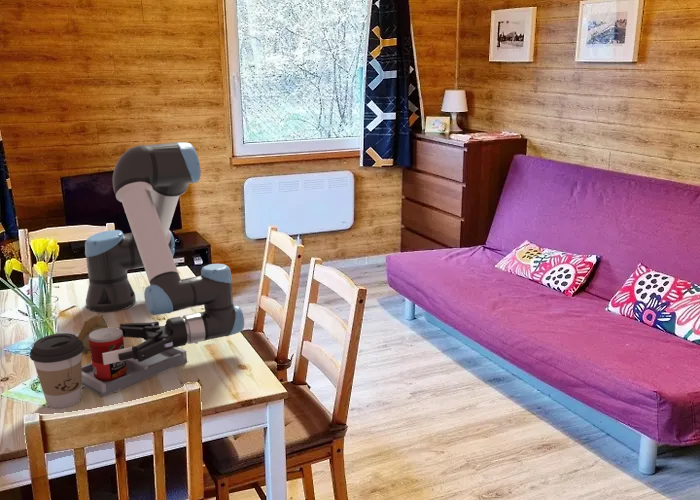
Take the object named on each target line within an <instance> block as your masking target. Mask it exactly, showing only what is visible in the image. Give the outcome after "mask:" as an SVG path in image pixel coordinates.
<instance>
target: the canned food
mask: <svg viewBox="0 0 700 500" xmlns="http://www.w3.org/2000/svg"><path fill="white" fill-rule="evenodd" d="M118 328H119V327H118ZM118 328H117V327H108V328H102V329H98V330H95V331H93V332H91V333H90V334H89V344H90V358H91V363H92V366H93V374H94V376H95V378H96V379H98V380H100V381H113V380H115V379H118V378H120V377H123V376H124V375H125V374H126V371H127V366H126V360H125V361H120V362H116V363H111V364H107V365H104V363H103V355H102V353H106V352H110V351H115V350H120V349H124V348H126V347H125V341H124V340H125V339H124V338H125V337H124V338H123V333H122V330H121V329H118Z"/></svg>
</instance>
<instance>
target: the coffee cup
mask: <svg viewBox="0 0 700 500" xmlns="http://www.w3.org/2000/svg"><path fill="white" fill-rule="evenodd" d="M77 336H78V335H76V334H74V333H69V332H64V333H63V332H59V333H54V334H53V333H52V334H50V335H49V334H48V335H45V336H42V337H41V338H39V339H37V340H36V341H35V342H34V343H33V347H32V348H31V349H30V351H29V359H30V360H31V361H33V364H34V367H35V370H36V374H37V376H38V380H39V383H40V386H41V390H42V392H43V396H44V400H45V402H46V404H47V406H48V407H49V408H51V409H55V410H56V409H59V410H60V409H61V410H62V409H66V408H70V407H72V406H73V407H74V406H75V405H76V404H79V402H80V401H81V397H82V391H83V390H82V387H83V385H82V366H83V353H82V351H83V350H84V346H83V342H82V341H81V340H79V339H78V337H77Z"/></svg>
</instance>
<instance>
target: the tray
mask: <svg viewBox="0 0 700 500" xmlns="http://www.w3.org/2000/svg"><path fill="white" fill-rule="evenodd" d="M138 345H139V344H138ZM138 345H136V346H138ZM132 351H133V350H132ZM143 356H144V355H143ZM187 357H188V355H187V350H185V349H183V348H181V347H175V348H172V349H169V350H166V351H163V352H161V353H159V354H157V355H155V356H152V357H150V358H148V359H146V360H144V361H142V362H139V361H138V359H129V360H126V366H127V371H126V374H125V375H124V376H123V377H120V378H118V379H115V380H113V381H100V380H98V379H96V378H95V376H94V374H93V366H92V362H90V363H87V364H84V365H82V387H85V388H87V389H88V390H90V391H92V392H93V393H96V394H97V395H99V396H100V397H102V398H103V397H106V396H108V395H111V394H113V393H115V392H118V391H120V390H123V389H125V388H128V387H129V386H132V385H134V384H137V383H139V382H142V381H144V380H147V379H150V378H151V377H153V376H156V375H159V374H160V373H163V372H165V371H168V370H170V369H173V368H175V367H177V366H180V365H182V364H185V363H186V362H188V359H187Z"/></svg>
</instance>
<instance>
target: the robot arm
mask: <svg viewBox="0 0 700 500" xmlns="http://www.w3.org/2000/svg"><path fill="white" fill-rule="evenodd" d="M197 153H198V152H197V151H196V149H195V147H194V145H193V144H191V143H189V142H178V141H176V142H169V143H167V142H166V143H157V144H145V145H144V144H140V145H135V146H132V147H130V148H129V149H127V150H126V151H125V152H124V153H122V154H121V155H120V157H119V158H118V160H117V162H116V164H115V166H114V169H113V173H112V188H113V192H114V195H115V198H116V200H117V201H118V202H120V203H122V207H123V209H124V213H125V215H126V218H127V221H128V224H129V227H130V230H131V232H129V233H123V231H122V230H120V229H113V230H109V229H108V230H105V231H100V232H97V233H94V234H92V235H91V236H90V235H89V237H87V239H85V241H84V249H85V250H84V255H85V259H86V267H87V275H88V282H89V283H88V288H87V291H86V292H87V293H86V298H85V307H86V309H87V310H88V311H92V312H98V313H109V312H116V311H121V310H125V309H128V308H130V307H131V306H133V305H134V304H135V303H136V302H137V300H136V298H137V297H136V294H135V291H134V289H133V287H132V285H131V282H130V281H129V279H128V271H129V270H135V269H140V268H144V271H145V274H146V277H147V280H148V283H149V285H148V286H146V287H145V289H144V294H143V295H144V296H143V297H144V300H145V306H146V308H147V310H148V312H149V313H150V314H151V315H153V316H159V315H165V314H172V313H175V312H178V311H182V310H186V309H190V308H195V307H200V306H203V307H204V311H200V312H195V313H190V314H189V313H188V314H184V315H183V316H175V317H171V318H167V319H166V320H165V325H160V321H150V322H132V323H131V322H130V323H129V322H127V323H123V322H122V323H120V324H119V327H118V329H121V330H122V333H123V338H132V339H134V338H135V339H143V340H144V341H143V342H141V343H140V344H138V346H137V345H132V346H129V347H125V348H124V349H120V350H115V351H110V352H106V353H102V355H103V363H104V365H107V364H111V363H116V362H120V361H125V360H129V359H138V361H139V362H142V361H144V360H146V359H148V358H150V357H152V356H155V355H157V354H159V353H161V352H163V351H166V350H169V349H172V348H175V347H178V348H180V347H182V346H183V347H184V346H186V345H187V344H188V345H191V344H195V345H196V344H197V345H198V344H199V343H200V342H204V341H209V340H214V339H219V338H225V337H230V336H232V335H236V334H238V333H241V332H242V331H243V330H244V328H245V318H244V312H243V310H242V308H241V307H240V306H239V305H234V297H233V296H234V295H233V280H232V279H233V277H232V272H231V268H230V267H229V266H228V265H226V264H224V263H211V264H207V265H205V266H202V267H201V270H200V275H197V276H193V277H188V278H182V279H181V277H180V274H179V271H178V269H177V264H176V262H175V259H174V255H175V247H176V244H175V243H176V241H175V238H174V235H173V233H172V231H171V230H170V227H171V224H172V220H173V217H174V214H175V211H176V207H177V206H178V205H177V204H178V201H179V198H180V196H182V195H184V194H185V193H186V192H187V190H188V188H189V186H190V184H197V183H198V182H199V181H200V179H201V175H202V174H201V173H202V172H201V164H200V159H199V156H198V154H197ZM132 350H133V351H132ZM143 355H144V356H143Z"/></svg>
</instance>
